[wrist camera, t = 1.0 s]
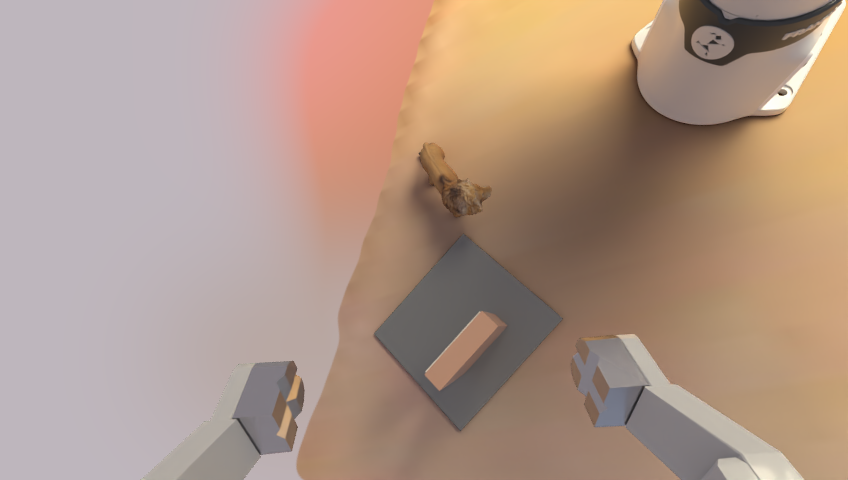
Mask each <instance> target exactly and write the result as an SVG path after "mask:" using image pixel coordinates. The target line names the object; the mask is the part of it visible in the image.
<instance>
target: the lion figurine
mask: <svg viewBox="0 0 848 480" xmlns="http://www.w3.org/2000/svg"><path fill="white" fill-rule="evenodd" d="M419 155H420V160H421V163H422V166H423V168H424V169H425V171H426V172H427V173H428V175H429V183H430V185H435V187H436V188H437V190H438V191H439V193H440V194H441V195H442V201H443V204H444V205H445V207H446V208H447V209H449V210H450V212H452V213H453V215H454V216H455V217H460V216H461V215H473V214H476V213H478V212H481V211H482V204H481V203H482V201H484V200H486V199H487V198H488V197H490V195H491V191H492V189H491V187H490V186H484V187H480V186H479V185H477V184H473V183H472V182H470V180H469V179H468V178H467V180H464V181H463V180H460V179H458V177H457V175H456V174H455V172H454V171H453V170H452V169H451V168H450V167H449V166H448V165H447V164H446V163H445V162H444V161H443V159H444V157H445V156H444V152H443V150H442V149H441V147H439V146H438V145H437V144H435V143H431V144H428V143H424V144H423V149H422V150H421V152H420V153H419Z"/></svg>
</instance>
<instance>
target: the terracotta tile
mask: <svg viewBox="0 0 848 480" xmlns="http://www.w3.org/2000/svg"><path fill="white" fill-rule="evenodd" d="M506 327H507V325H506V324H505V323H504V322H503V321H502V320H501V319H500V318H499V317H498V316H497V315H496V314H492V313H488V312H484V311H481V312H480V311H479V312H478V313H477V315H476V316H475V317H474V318H473V319H472V320H471V321H470V322H469V323H468V325H467V326H466V327H465V328H464V329H463V330H462V331H461V332H460V333H459V335H458V336H457V337H456V338H455V339H454V340H453V341H452V342H451V343H450V345H449V346H448V347H447V348H446V349H445V350H444V351H443V352H442V353H441V354H440V356H439V357H438V358H437V359H436V360H435V361H434V362H433V363H432V364H431V366H430V367H429V368H428V369H427V370H426V371H425V372H426V373H425V374H424V375H425V376H426V377H427V378H428V379H429V380H430V381H431V382H432V384H433V385H434V386H435V387H436V388H437V389H438V390H439V391H440V390H442V389H443V388H445V387H446V386H448V385H449V384H451V383H452V382H454V381H455V380H456V379H458V378H459V377H461V376H462V375H464V374H465V373H466V371H467V370H468V369H469V368H470V367H471V366H472V365H473V364H474V363H475V362H476V360H477V359H478V358H479V357H480V356H481V355H482V354H483V353H484V352H485V350H486V349H487V348H488V347H489V346H490V345H491V344H492V343H493V342H494V341H495V339H496V338H497V337H498V336H499V335H500V334H501V333H502V332H503V331H504V330H505V328H506Z"/></svg>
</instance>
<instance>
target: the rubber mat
mask: <svg viewBox="0 0 848 480" xmlns="http://www.w3.org/2000/svg"><path fill="white" fill-rule="evenodd" d="M479 311H480V312H481V311H484V312H488V313H492V314H496V315H497V316H498V317H499V318H500V319H501V320H502V321H503V322H504V323H505V324H506V325H507V327H506V328H505V330H504V331H503V332H502V333H501V334H500V335H499V336H498V337H497V338H496V339H495V341H494V342H493V343H492V344H491V345H490V346H489V347H488V348H487V349H486V350H485V352H484V353H483V354H482V355H481V356H480V357H479V358H478V359H477V360H476V362H475V363H474V364H473V365H472V366H471V367H470V368H469V369H468V370H467V371H466V373H465V374H464V375H462V376H461V377H459V378H458V379H456V380H455V381H454V382H452V383H451V384H449V385H448V386H446V387H445V388H443V389H442V390H440V391H439V390H438V389H437V388H436V387H435V386H434V385H433V384H432V382H431V381H430V380H429V379H428V378H427V377H426V376H425V375H424V374H425V373H426V372H425V371H426V370H427V369H428V368H429V367H430V366H431V364H432V363H433V362H434V361H435V360H436V359H437V358H438V357H439V356H440V354H441V353H442V352H443V351H444V350H445V349H446V348H447V347H448V346H449V345H450V343H451V342H452V341H453V340H454V339H455V338H456V337H457V336H458V335H459V333H460V332H461V331H462V330H463V329H464V328H465V327H466V326H467V325H468V323H469V322H470V321H471V320H472V319H473V318H474V317H475V316H476V315H477V313H478V312H479ZM562 319H563V318H562V317H560V316H559V315H558V314H557V313H556V312H555V311H553V310H552V309H551V308H550V307H549V306H548V305H546V304H545V303H544V302H543V301H542V300H541V299H539V298H538V297H537V296H536V295H535V294H533V293H532V292H531V291H530V290H529V289H528V288H526V287H525V286H524V285H523V284H522V283H521V282H519V281H518V280H517V279H516V278H515V277H514V276H512V275H511V274H510V273H509V272H508V271H506V270H505V269H504V268H503V267H502V266H501V265H499V264H498V263H497V262H496V261H495V260H494V259H492V258H491V257H490V256H489V255H488V254H487V253H485V252H484V251H483V250H482V249H481V248H479V247H478V246H477V245H476V244H475V243H474V242H472V241H471V240H470V239H469V238H468V237H467V236H465V235H464V234H462V236H461V237H460V238H459V239H458V240H457V241H456V242H455V243H454V245H453V246H452V247H451V248H450V249H449V250H448V251H447V252H446V254H445V255H444V256H443V257H442V258H441V259H440V260H439V261H438V263H437V264H436V265H435V266H434V267H433V268H432V269H431V270H430V271H429V273H428V274H427V275H426V276H425V277H424V278H423V279H422V280H421V282H420V283H419V284H418V285H417V286H416V287H415V288H414V289H413V291H412V292H411V293H410V294H409V295H408V296H407V297H406V298H405V300H404V301H403V302H402V303H401V304H400V305H399V306H398V307H397V308H396V310H395V311H394V312H393V313H392V314H391V315H390V316H389V317H388V319H387V320H386V321H385V322H384V323H383V324H382V325H381V326H380V328H379V329H378V330H377V331H376V332H375V333H374V334H375V335H376V337H377V338H378V339H379V340H380V341H381V342H382V343H383V344H384V346H385V347H386V348H387V349H388V350H389V351H390V352H391V353H392V355H393V356H394V357H395V358H396V359H397V360H398V361H399V362H400V364H401V365H402V366H403V367H404V368H405V369H406V370H407V372H408V373H409V374H410V375H411V376H412V377H413V378H414V379H415V381H416V382H417V383H418V384H419V385H420V386H421V387H422V388H423V390H424V391H425V392H426V393H427V394H428V395H429V396H430V397H431V399H432V400H433V401H434V402H435V403H436V404H437V405H438V406H439V408H440V409H441V410H442V411H443V412H444V413H445V414H446V415H447V417H448V418H449V419H450V420H451V421H452V422H453V423H454V424H455V426H456V427H457V428H458V429H459V430H460V431H461V430H462V429H463V428H464V427H465V425H466V424H467V423H468V422H469V421H470V420H471V419H472V418H473V417H474V416H475V414H476V413H477V412H478V411H479V410H480V409H481V408H482V407H483V406H484V405H485V404H486V402H487V401H488V400H489V399H490V398H491V397H492V396H493V395H494V394H495V393H496V391H497V390H498V389H499V388H500V387H501V386H502V385H503V384H504V383H505V382H506V381H507V379H508V378H509V377H510V376H511V375H512V374H513V373H514V372H515V371H516V370H517V368H518V367H519V366H520V365H521V364H522V363H523V362H524V361H525V360H526V359H527V357H528V356H529V355H530V354H531V353H532V352H533V351H534V350H535V349H536V348H537V347H538V345H539V344H540V343H541V342H542V341H543V340H544V339H545V338H546V337H547V336H548V334H549V333H550V332H551V331H552V330H553V329H554V328H555V327H556V326H557V325H558V323H559V322H560V321H561V320H562Z"/></svg>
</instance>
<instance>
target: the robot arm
mask: <svg viewBox="0 0 848 480" xmlns="http://www.w3.org/2000/svg"><path fill="white" fill-rule="evenodd" d="M845 6H846V1H845V0H663V2H662V4H661V6H660V8H659V10H658V12H657V14H656V17H655V19H654V20H653V21H651V22H650V23H649V24H648V25H646V26H645V27H644V28H643V29H641V30H640V31H639V32H638V33H637V34H636V35H635V36H634V38H633V40H632V44H631V45H632V49H633V52H634V54H635V56H636V58H637V60H638V69H637V81H638V86H639V89H640V92H641V94H642V96H643V97H644V99H645V100H646V101H647V103H648V104H649V105H650V106H651V107H652V108H653V109H655V110H656V111H657V112H659V113H660V114H662V115H664V116H666V117H668V118H670V119H673V120H675V121H679V122H682V123H687V124H695V125H711V124H719V123H724V122H728V121H732V120H735V119H738V118H741V117H745V116H750V115H751V116H769V115H777V114H780V113H782V112H784V111H785V110H786V109H787V107H788V106H789V105H790V104H791V102H792V100H793V99H794V97H795V95H796V93H797V92H798V90H799V88H800V86H801V84H802V83H803V81H804V79H805V77H806V76H807V74H808V72H809V70H810V69H811V67H812V65H813V63H814V62H815V60H816V58H817V56H818V55H819V53H820V51H821V49H822V48H823V46H824V44H825V42H826V40H827V39H828V37H829V35H830V33H831V32H832V30H833V28H834V26H835V25H836V23H837V21H838V19H839V18H840V16H841V14H842V12H843V10H844V8H845ZM778 93H781V94H782V95H783V96H780V95H778ZM576 348H577V351H578V353H577V354H575V355H574V356H573V358H572V363H571V369H572V376H573V379H574V382H575V385H576V387H577V389H578V390H579V391H580V392H581V393H583V394H584V395H585V396H586V399H585V403H584V405H585V407H586V410H587V412H588V414H589V416H590V419H591V421H592V423H593V425H594V427H608V426H626V428H627V429H628V430H629V431H630V432H631V433H632V434H633V435H634V436H635V437H636V438H637V439H638V440H639V441H641V442H642V443H643V444H644V445H645V446H646V447H647V448H648V449H649V450H650V451H651V452H652V453H653V454H654V455H655V456H657V457H658V458H659V459H660V460H661V461H662V462H663V463H664V464H665V465H666V466H667V467H668V468H669V469H670V470H672V471H673V472H674V473H675V474H676V475H677V476H678V477H679V478H680V479H681V480H804V479H803V478H802V477H801V475H800V474H799V473H798V472H797V471H796V469H795V468H794V467H793V466H792V464H791V463H790V462H789V461H788V460H787V458H786V457H785V456H784V455H783V454H782V452H780V451H779V450H777V449H776V448H774V447H772V446H771V445H769V444H768V443H766V442H765V441H763V440H762V439H760V438H759V437H757V436H755V435H754V434H752V433H751V432H749V431H748V430H746V429H745V428H743V427H742V426H740V425H739V424H737V423H735V422H734V421H732V420H731V419H729V418H728V417H726V416H725V415H723V414H722V413H720V412H718V411H717V410H715V409H714V408H712V407H711V406H709V405H708V404H706V403H705V402H703V401H702V400H700V399H698V398H697V397H695V396H694V395H692V394H691V393H689V392H688V391H686V390H685V389H683V388H682V387H680V386H678V385H677V384H670V383H669V381H668V380H667V378H666V377H665V375H664V374H663V372H662V371H661V370H660V368H659V367H658V365H657V364H656V362H655V361H654V360H653V358H652V357H651V355H650V354H649V352H648V351H647V350H646V348H645V347H644V345H643V344H642V342H641V341H640V340H639V338H638V337H637V336H636V335H634V334H624V335H607V336H597V337H586V338H580V339H579V340H577V343H576ZM296 371H297V367H296V365H295V363H294V361H287V362H268V363H250V364H238V365H237V366H236V368H235V369H234V370H233V372H232V374H231V376H230V378H229V381H228V383H227V385H226V387H225V390H224V392H223V394H222V396H221V398H220V400H219V403H218V405H217V407H216V409H215V411H214V414H213V416H212V418H211V420H210V421H205V422H204V423H202V424H201V425H200V426H199V427H198V428H197V429H196V430H195V431H194V432H193V433H192V434H190V435H189V436H188V437H187V438H186V439H185V440H184V441H183V442H182V443H181V444H179V445H178V446H177V447H176V448H175V449H174V450H173V451H172V452H171V453H170V454H169V455H167V456H166V457H165V458H164V459H163V460H162V461H161V462H160V463H159V464H158V465H157V466H156V467H154V469H152V470H151V471H150V472H149V473H148V474H147V475H146V476H145V477H143V479H141V480H243V479H244V478H245V477H246V475H247V474H248V473H249V472H250V470H251V468H253V466H254V465H255V464H256V462H257V461H258V460H259V458H260V457H261V456H260V455H263V454H272V453H281V452H291V451H292V448H293V444H294V440H295V436H296V432H297V428H298V427H297V424H296V422H295V420H294V419H295V418H296V417H297V416H298V415H299V414H300V412H301V411H302V407H303V402H304V385H303V382H302V379H301V378H300V377H299V376H297V375H296Z"/></svg>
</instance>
